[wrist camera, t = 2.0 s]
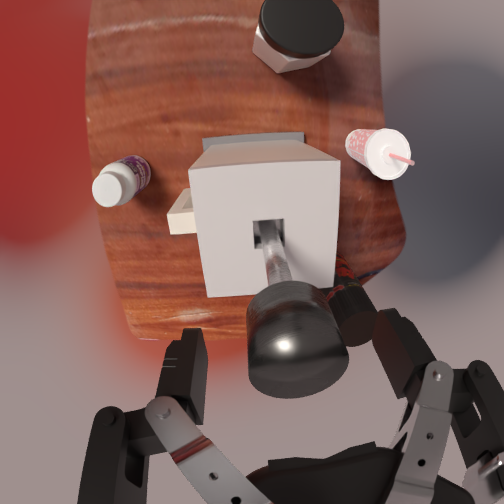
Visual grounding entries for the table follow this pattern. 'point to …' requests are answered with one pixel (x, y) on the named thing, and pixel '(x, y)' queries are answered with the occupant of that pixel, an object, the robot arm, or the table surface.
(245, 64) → the table surface
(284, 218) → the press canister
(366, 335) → the deodorant
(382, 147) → the beverage cup
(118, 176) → the pill bottle
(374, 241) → the table surface
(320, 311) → the plunger
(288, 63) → the jar
